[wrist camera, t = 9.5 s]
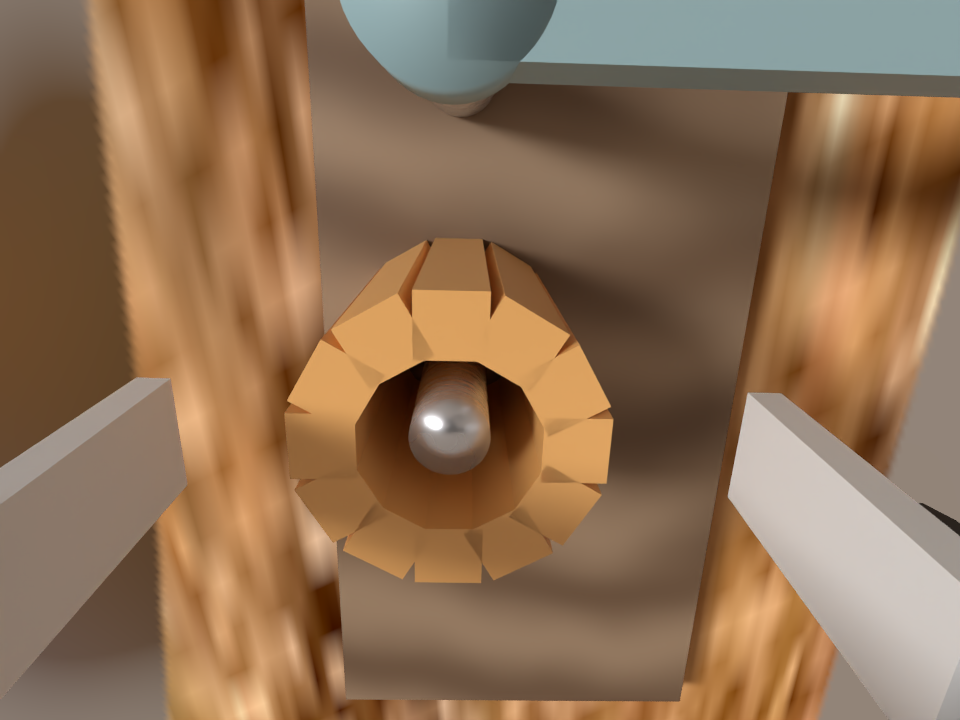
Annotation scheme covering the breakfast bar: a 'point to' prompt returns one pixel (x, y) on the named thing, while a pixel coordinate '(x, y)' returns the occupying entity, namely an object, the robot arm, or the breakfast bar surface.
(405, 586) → the plate
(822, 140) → the breakfast bar surface
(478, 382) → the silver metal piece
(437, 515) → the collar
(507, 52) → the bar
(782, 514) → the robot arm
